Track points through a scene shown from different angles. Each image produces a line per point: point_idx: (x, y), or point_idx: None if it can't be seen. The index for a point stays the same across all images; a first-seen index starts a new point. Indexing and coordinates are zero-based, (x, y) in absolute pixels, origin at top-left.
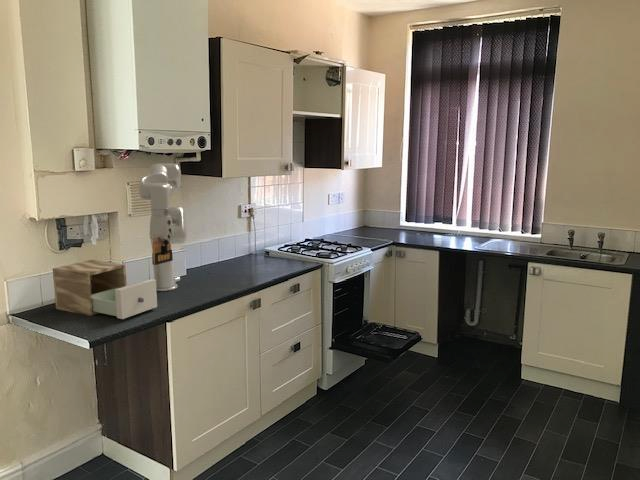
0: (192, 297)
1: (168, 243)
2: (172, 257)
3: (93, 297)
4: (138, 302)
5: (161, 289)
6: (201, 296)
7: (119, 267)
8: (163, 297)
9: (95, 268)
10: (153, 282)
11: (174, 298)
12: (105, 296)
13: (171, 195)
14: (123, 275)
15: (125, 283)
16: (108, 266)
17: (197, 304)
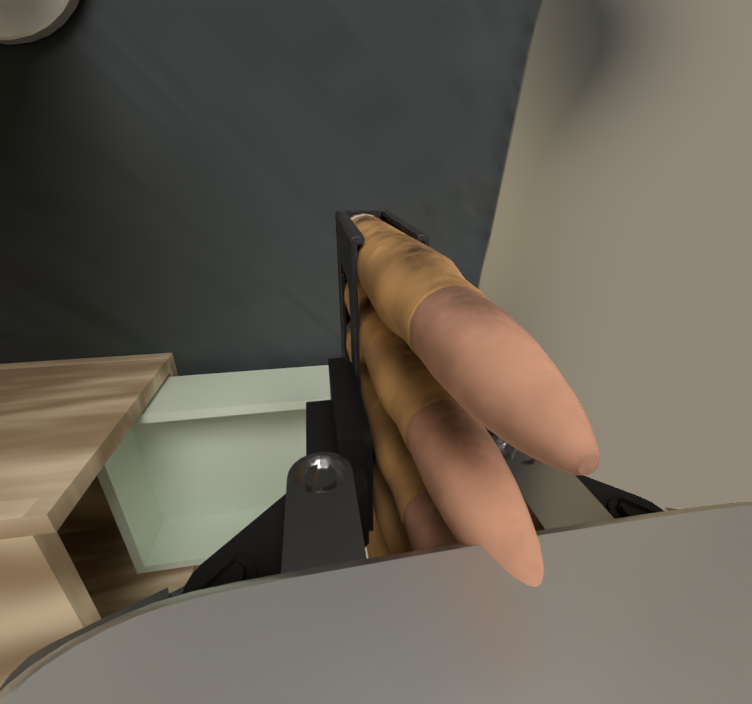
0: (377, 63)
1: (583, 482)
2: (395, 215)
3: (186, 560)
4: None
5: (51, 24)
6: (414, 7)
7: (52, 538)
8: (219, 161)
9: (10, 671)
10: None
11: (296, 144)
12: (127, 471)
13: None
14: (98, 465)
15: (129, 420)
16: (4, 607)
17: (488, 179)
